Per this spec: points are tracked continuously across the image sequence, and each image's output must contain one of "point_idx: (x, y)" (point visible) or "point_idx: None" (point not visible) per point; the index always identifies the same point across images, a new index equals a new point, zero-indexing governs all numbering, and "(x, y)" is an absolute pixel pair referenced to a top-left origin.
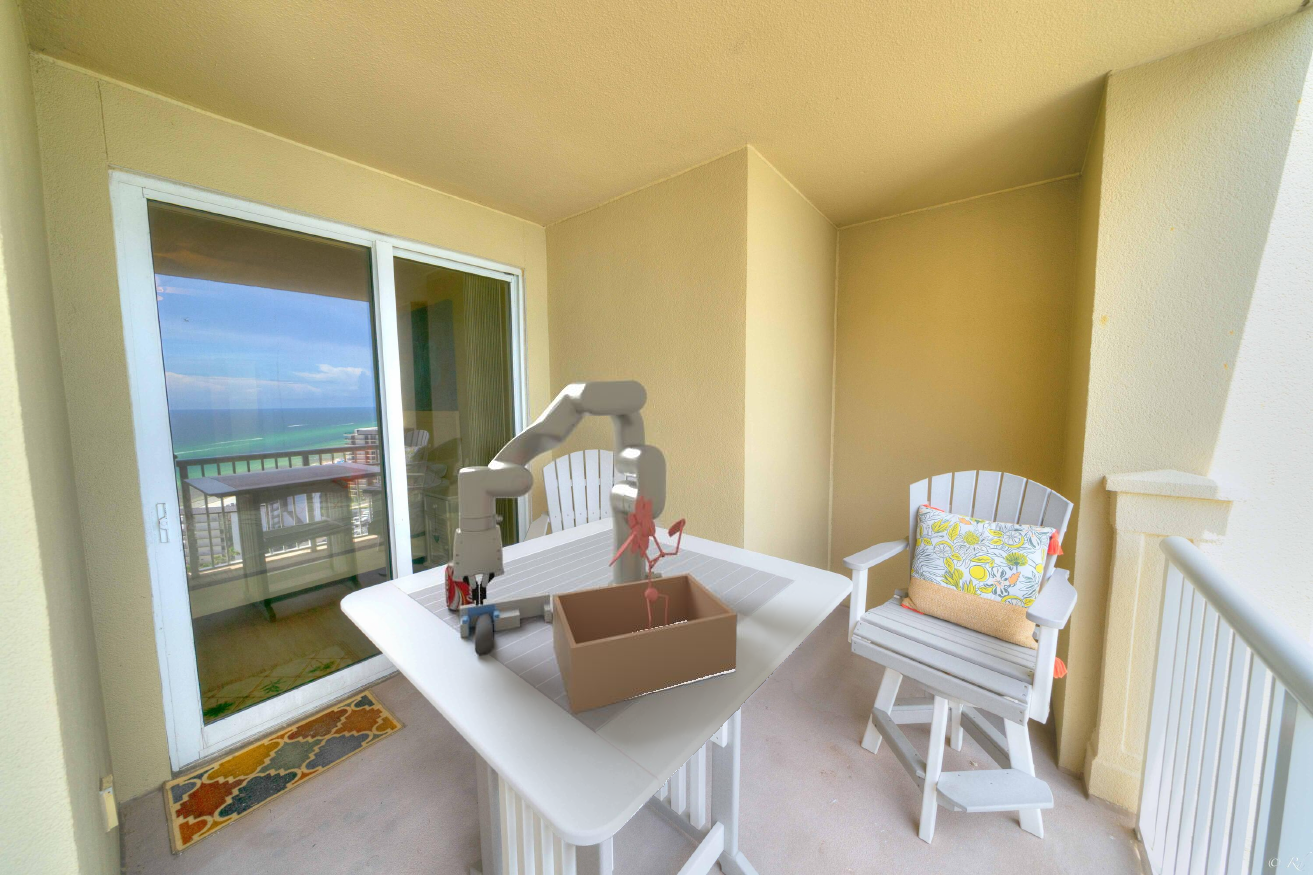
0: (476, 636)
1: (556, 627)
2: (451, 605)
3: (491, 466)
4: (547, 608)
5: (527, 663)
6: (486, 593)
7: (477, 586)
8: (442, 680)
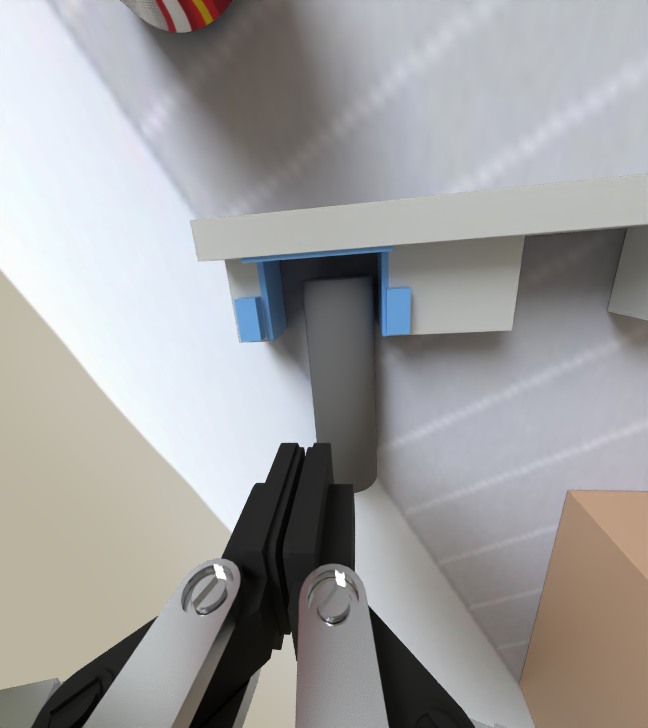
0: (318, 432)
1: (642, 684)
2: (128, 6)
3: None
4: None
5: (468, 532)
6: (353, 515)
7: (272, 633)
8: None
